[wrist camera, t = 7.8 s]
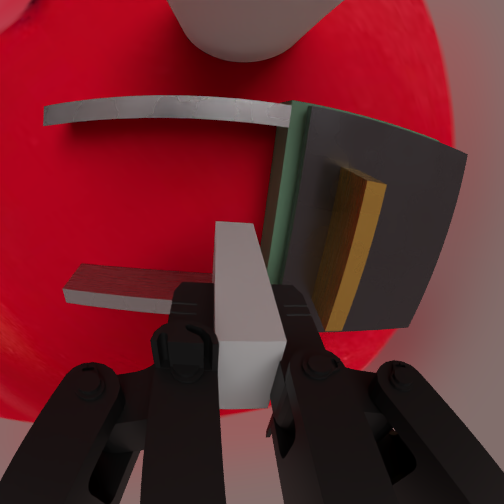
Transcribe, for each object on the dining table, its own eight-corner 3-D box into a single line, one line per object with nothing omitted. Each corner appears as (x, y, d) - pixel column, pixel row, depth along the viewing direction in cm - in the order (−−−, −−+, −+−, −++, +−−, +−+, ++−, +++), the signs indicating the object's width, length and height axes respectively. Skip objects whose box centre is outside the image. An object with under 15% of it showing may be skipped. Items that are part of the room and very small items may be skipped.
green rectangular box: (254, 292, 22) (258, 321, 19) (279, 102, 16) (292, 100, 13) (366, 295, 24) (383, 320, 21) (410, 134, 18) (439, 140, 14)
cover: (270, 324, 19) (279, 366, 16) (307, 106, 13) (334, 104, 10) (403, 321, 20) (425, 353, 17) (459, 151, 14) (499, 165, 11)
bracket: (84, 276, 21) (66, 302, 17) (72, 105, 15) (44, 106, 11) (254, 289, 22) (259, 319, 19) (279, 107, 16) (291, 105, 13)
